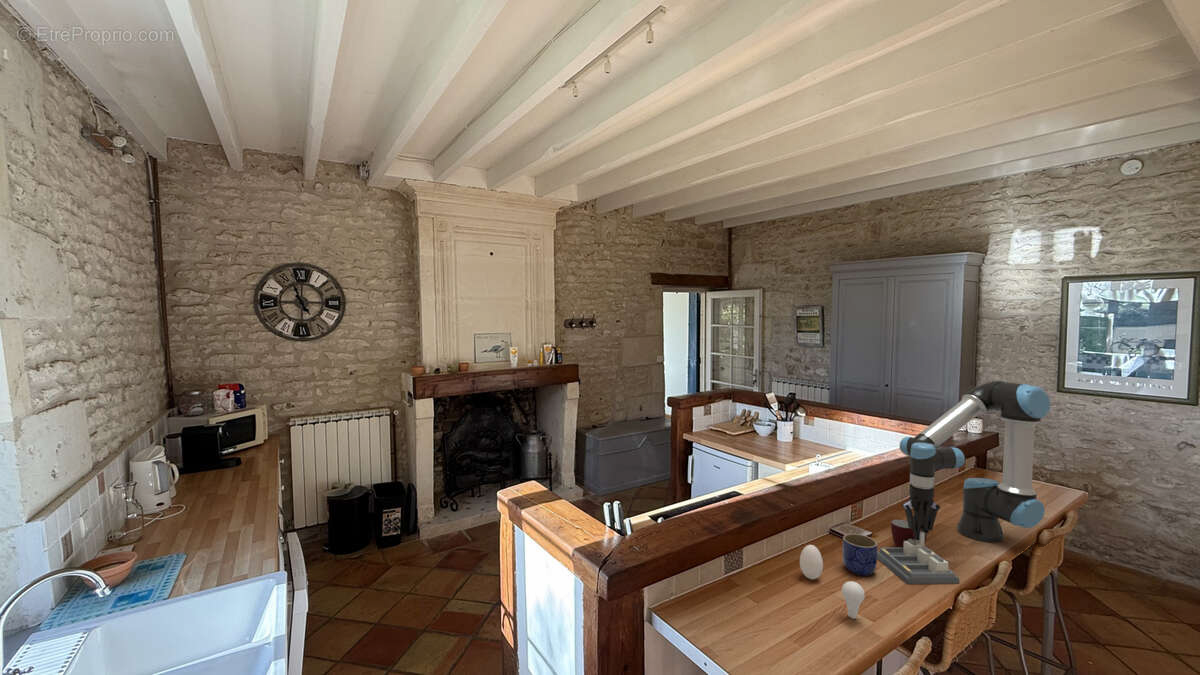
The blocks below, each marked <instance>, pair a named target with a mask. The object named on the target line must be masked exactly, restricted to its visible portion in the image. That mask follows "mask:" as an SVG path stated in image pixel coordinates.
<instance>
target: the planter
mask: <svg viewBox="0 0 1200 675" xmlns="http://www.w3.org/2000/svg"><path fill="white" fill-rule="evenodd" d="M877 552H878V542H877V541H876V540H875V539H873V538H872V537H870V536H867V535H864V534H860V533H846V534H844V535H843V537H842V561H843V563H844V566H845V567H846V569H847V570H848V571H849V572H851V573H853V574H856V575H858V576H870V575H872V574H873V573H874V572H875V571H876V568H877V563H878V559H877Z"/></svg>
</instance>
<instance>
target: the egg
mask: <svg viewBox="0 0 1200 675" xmlns="http://www.w3.org/2000/svg"><path fill="white" fill-rule="evenodd" d="M823 561H824V560H823V556H822V554H821V552H820V550H819V549H818V547H816V545H813V544H807V545H806V546H805V547H803V549H802V551H801V552H800V556H799V567H800V570H801V572H802V574H803V575H804V576H805V577H806V578H807V579H809V580H816V579H818V578H819V577H821V575H822V572H823V570H824V569H823V568H824V562H823Z"/></svg>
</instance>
